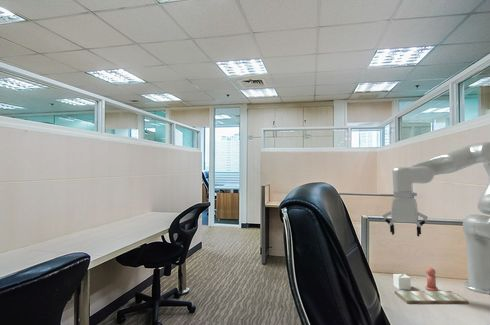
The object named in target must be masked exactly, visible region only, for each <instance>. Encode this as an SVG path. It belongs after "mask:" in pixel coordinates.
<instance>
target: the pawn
mask: <svg viewBox="0 0 490 325" xmlns="http://www.w3.org/2000/svg"><path fill="white" fill-rule="evenodd" d="M425 272H426V285H425V291H439V289H438V287H437V286H436V285H437V282H436V273H437V272H436V270H435V269H434V268H433V267H427V268H426V271H425Z"/></svg>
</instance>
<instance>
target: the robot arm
mask: <svg viewBox="0 0 490 325" xmlns="http://www.w3.org/2000/svg"><path fill="white" fill-rule="evenodd" d="M479 163H480V164H481V163H482V164H483V168H484V170H485V171H486V173H487V176H488V183H487V185H486V187H485V188H484V190H483V192H482V194H481V196H480V198H479V199H478V202H477V209H478V211H479V212H480V213H482V214H470V215H468V216H466V217H465V218H464V219H463V221H462V229H463V233H464V237H465V241H466V242H465V243H466V244H465V245H466V261H467V262H466V263H467V264H466V265H467V280H468V281H465V282H464V283H463V286H464V287H465V289H468V290H470V291H473V292H476V293H479V294H485V295H486V294H487V295H490V141H486V142H485V141H484V142H478V143H472V144H469V145H466V146H463V147H460V148H458V149H456V150H453V151H451V152H448V153H445V154H442V155H439V156H436V157H433V158H431V159H427V160H425V161H422V162H419V163H416V164H414V165H411V166H409V167H408V166H407V167H406V166H405V167H403V166H402V167H394V168H393V169H392V186H393V192H392V193H393V198H392V199H391V208H390V209H391V210H390V211H389V212H386V213H384V214H382V217H383V219H384V221H385V222H386V223H387V224H388V225H389V229H390V233H391V235H392V236H394V234H395V225H394V224H395V222H398V223H399V222H401V223H414V224H415V225H416V236H417V237H420V235H422V226H423V225H425V224H426V223H427V220H428V219H429V217H428V215H426V214H424V213H421V212H419V211H418V204H417V200H416V198H414V197H417V196H418V194H417V192H414V191H413V190H414V189H413V184H421V185H422V184H423V185H424V184H428V183H430V182H432V181H433V180H434V178H435V176H437V175H438V176H439V175H447V174H452V173H455V172H458V171H461V170H463V169H466V168H469V167H471V166H473V165H474V166H475V165H477V164H479ZM483 214H484V215H483ZM488 215H489V216H488ZM389 216H391V218H390V219H391V220H390V219H389V218H388V217H389ZM419 217H420V218H422V220H421V221H419Z"/></svg>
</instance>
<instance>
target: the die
mask: <svg viewBox="0 0 490 325" xmlns="http://www.w3.org/2000/svg"><path fill="white" fill-rule="evenodd" d="M392 275H393V277H392V278H393V280H392V281H393V286H394V287H395V288H396V289H398V290H411V289H412V283H411V277H410V276H408V275H407V274H405V273H393V274H392Z"/></svg>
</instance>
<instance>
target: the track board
mask: <svg viewBox="0 0 490 325" xmlns="http://www.w3.org/2000/svg"><path fill="white" fill-rule="evenodd" d="M394 295H396V296H397V297H398V298H400V299H401V300H402V301H404V303H406V304H413V305H414V304H420V305H421V304H422V305H425V304H426V305H427V304H428V305H429V304H437V305H438V304H445V305H446V304H447V305H448V304H449V305H450V304H454V305H455V304H458V305H459V304H464V305H466V304H469V300H467V299H466V298H464V297H462V296H460V295H459V294H457V293H455V292H454V291H452V290H438V291H428V290H395V291H394Z"/></svg>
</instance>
